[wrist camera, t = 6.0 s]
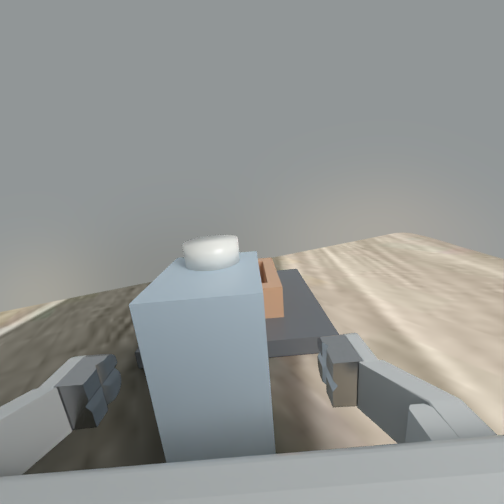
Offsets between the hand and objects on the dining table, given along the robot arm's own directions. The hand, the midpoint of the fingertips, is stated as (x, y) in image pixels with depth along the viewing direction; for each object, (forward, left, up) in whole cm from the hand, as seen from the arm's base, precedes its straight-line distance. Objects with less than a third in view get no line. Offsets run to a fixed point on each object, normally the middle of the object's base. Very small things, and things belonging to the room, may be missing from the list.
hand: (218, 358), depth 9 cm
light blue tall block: (0, +1, -7) cm, 7 cm away
